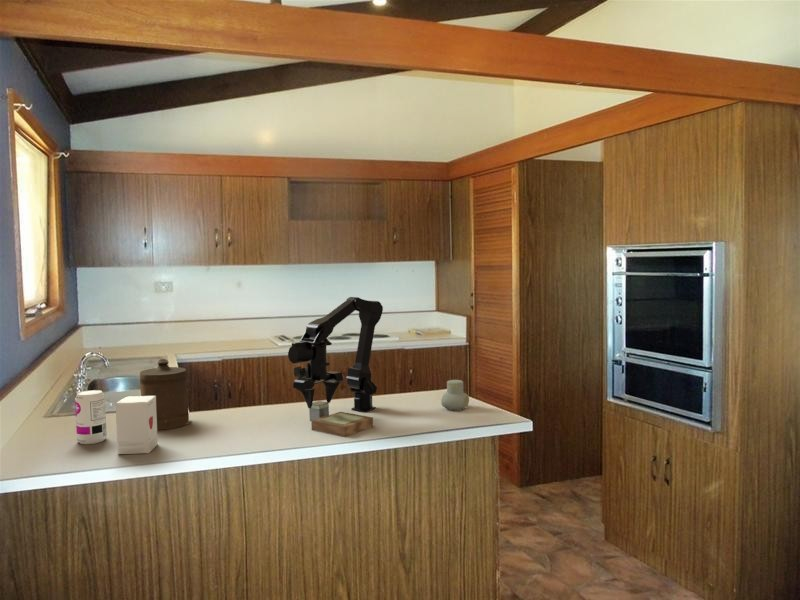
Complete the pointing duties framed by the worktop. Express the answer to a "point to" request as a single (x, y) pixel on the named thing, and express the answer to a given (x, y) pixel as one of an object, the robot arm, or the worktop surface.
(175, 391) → the wooden container
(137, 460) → the worktop surface
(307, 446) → the worktop surface
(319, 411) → the grey box
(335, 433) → the platform
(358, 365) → the robot arm
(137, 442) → the supplement box
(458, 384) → the air freshener
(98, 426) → the supplement can
